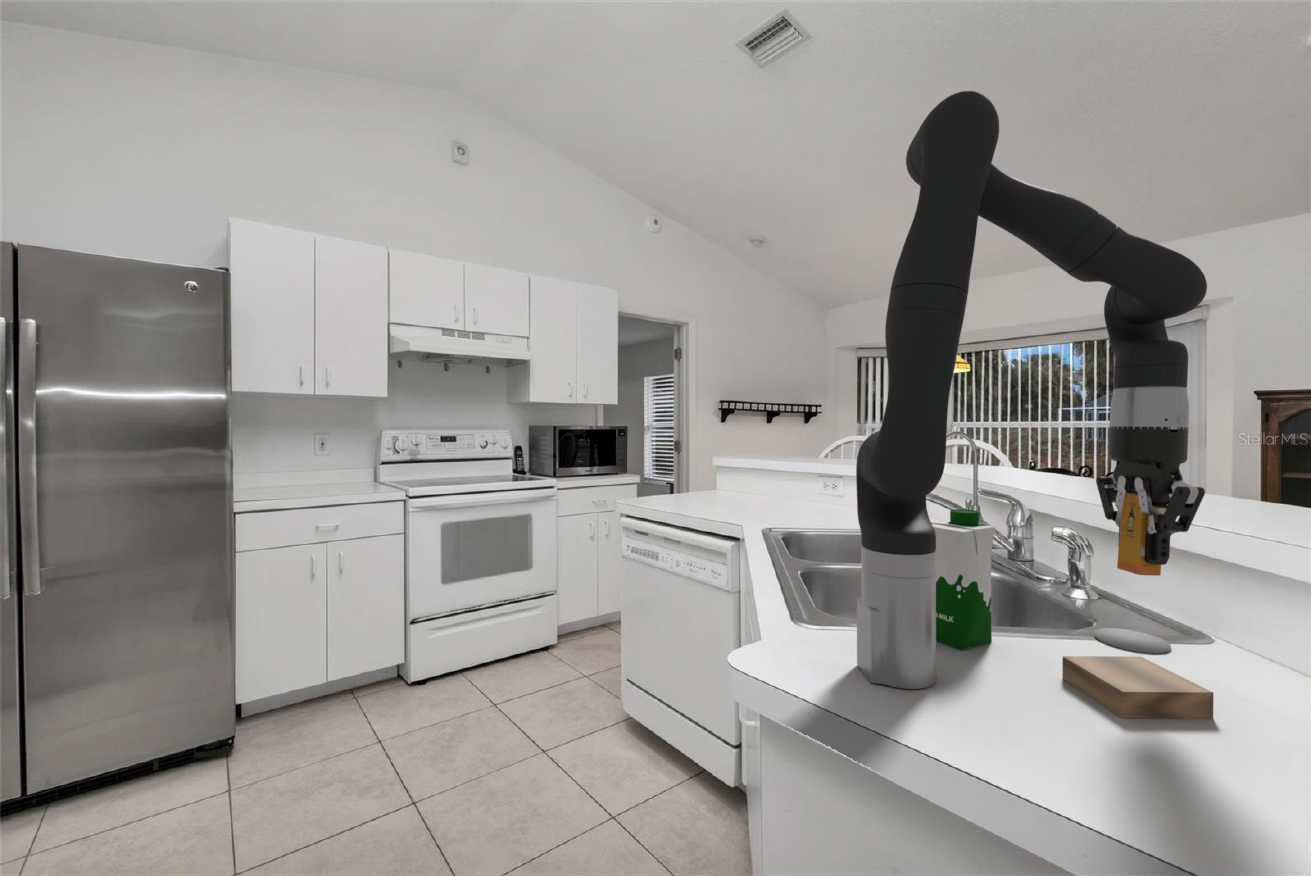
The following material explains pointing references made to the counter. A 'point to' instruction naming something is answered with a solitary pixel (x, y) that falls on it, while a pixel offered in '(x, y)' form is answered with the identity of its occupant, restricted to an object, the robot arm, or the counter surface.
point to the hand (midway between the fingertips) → (1142, 559)
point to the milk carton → (963, 580)
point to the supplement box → (1134, 539)
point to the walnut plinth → (1137, 687)
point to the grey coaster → (1132, 640)
